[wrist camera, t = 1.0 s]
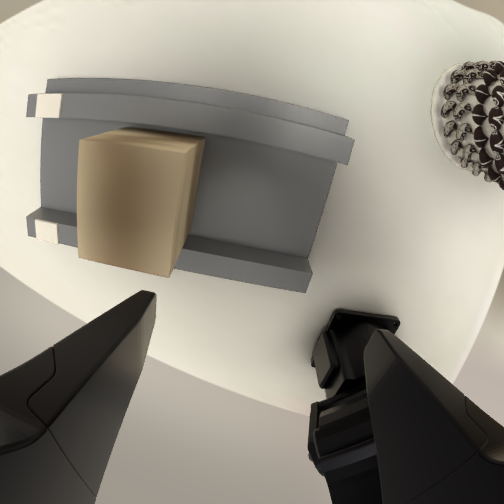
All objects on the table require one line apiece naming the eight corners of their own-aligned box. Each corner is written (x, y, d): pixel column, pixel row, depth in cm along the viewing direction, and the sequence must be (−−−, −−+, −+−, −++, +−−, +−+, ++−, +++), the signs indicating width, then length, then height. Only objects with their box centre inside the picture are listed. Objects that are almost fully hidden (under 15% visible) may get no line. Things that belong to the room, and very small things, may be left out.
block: (206, 137, 17) (184, 153, 12) (190, 228, 20) (169, 277, 15) (128, 126, 17) (79, 140, 12) (120, 215, 20) (78, 257, 14)
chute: (344, 119, 18) (360, 123, 15) (295, 281, 23) (301, 307, 20) (55, 79, 16) (28, 79, 13) (49, 231, 21) (28, 249, 18)
